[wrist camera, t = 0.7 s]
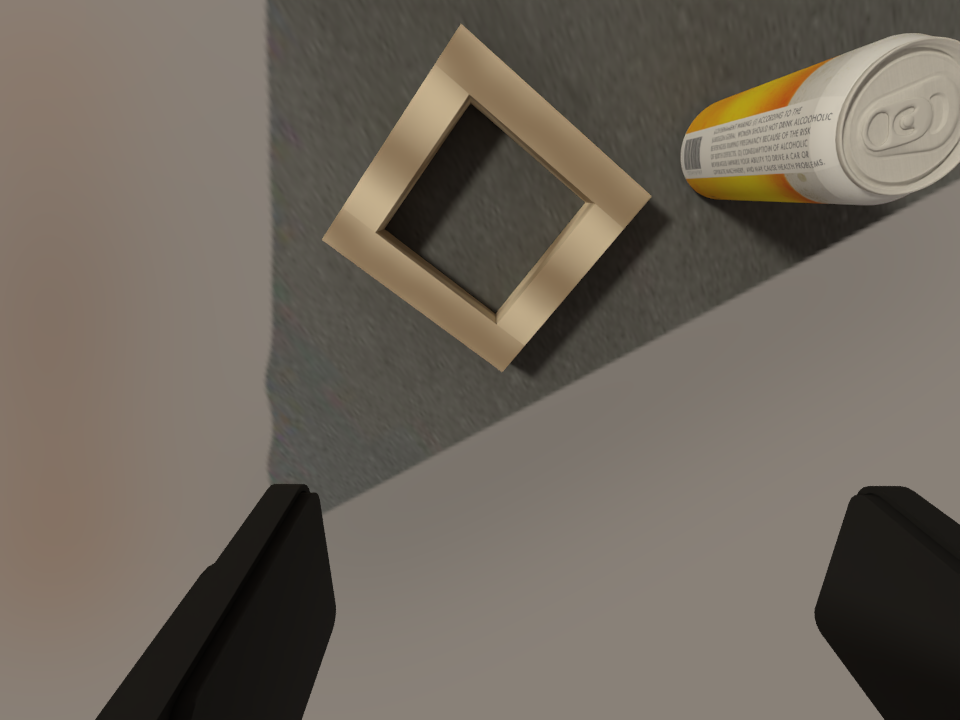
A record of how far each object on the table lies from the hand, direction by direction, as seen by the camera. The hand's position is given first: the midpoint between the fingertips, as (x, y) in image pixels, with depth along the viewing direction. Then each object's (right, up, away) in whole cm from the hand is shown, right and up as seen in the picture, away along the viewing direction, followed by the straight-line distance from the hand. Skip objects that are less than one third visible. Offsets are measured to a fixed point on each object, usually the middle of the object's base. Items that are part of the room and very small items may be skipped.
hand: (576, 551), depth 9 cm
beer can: (+14, +17, +23) cm, 33 cm away
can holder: (-1, +13, +25) cm, 28 cm away
